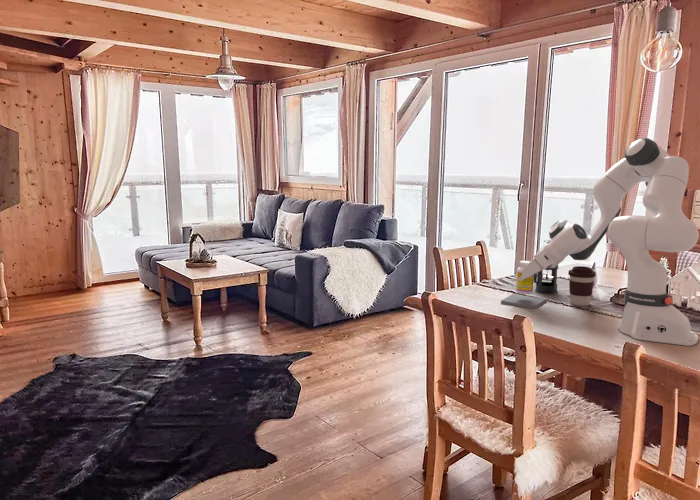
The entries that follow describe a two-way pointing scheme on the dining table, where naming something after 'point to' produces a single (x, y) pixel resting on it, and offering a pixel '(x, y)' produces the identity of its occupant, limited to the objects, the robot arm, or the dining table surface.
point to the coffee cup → (581, 285)
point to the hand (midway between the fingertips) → (523, 278)
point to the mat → (523, 301)
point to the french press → (546, 286)
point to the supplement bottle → (527, 283)
